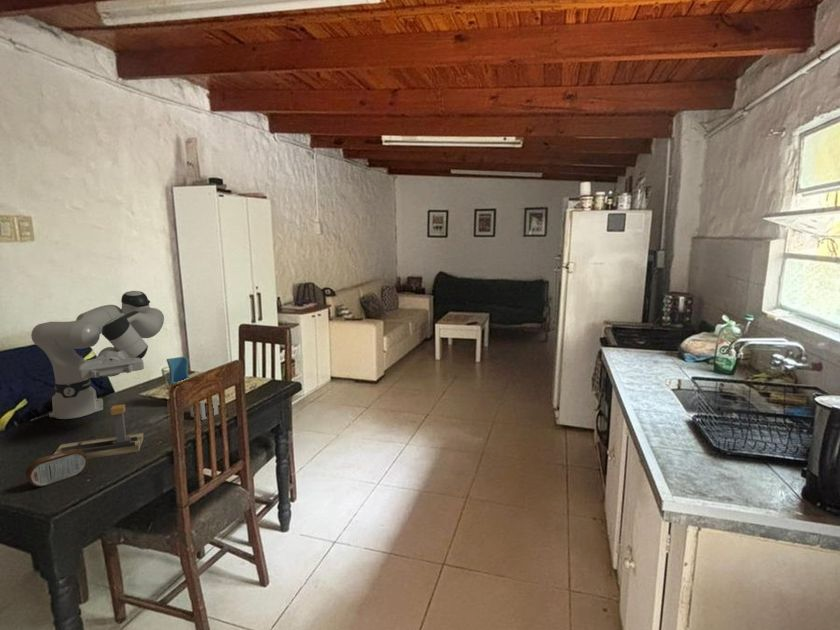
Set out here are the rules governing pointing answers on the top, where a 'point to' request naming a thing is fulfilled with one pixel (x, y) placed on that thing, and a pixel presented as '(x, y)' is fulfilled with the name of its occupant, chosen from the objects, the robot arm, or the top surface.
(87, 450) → the fader board
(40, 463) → the tin
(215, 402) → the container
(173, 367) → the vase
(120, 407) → the fader lever
